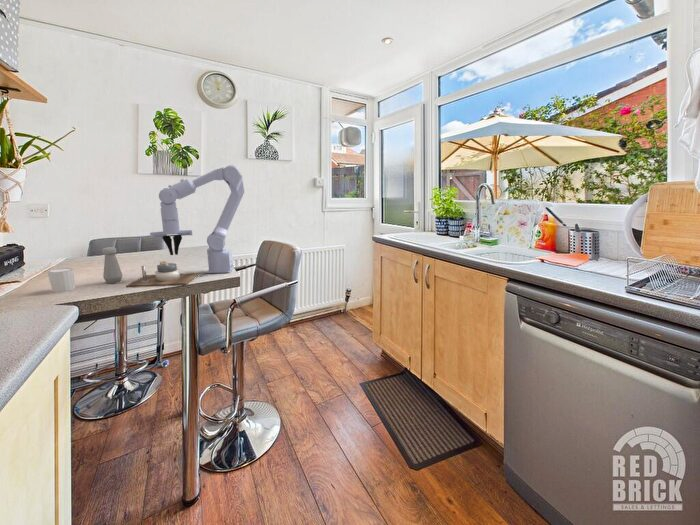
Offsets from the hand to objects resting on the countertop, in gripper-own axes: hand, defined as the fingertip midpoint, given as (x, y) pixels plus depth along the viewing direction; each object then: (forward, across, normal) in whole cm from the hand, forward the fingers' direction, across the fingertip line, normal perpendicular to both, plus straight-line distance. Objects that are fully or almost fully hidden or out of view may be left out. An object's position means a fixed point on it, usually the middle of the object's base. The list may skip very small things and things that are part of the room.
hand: (174, 254), depth 132 cm
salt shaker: (+9, +20, -2) cm, 22 cm away
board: (+8, +5, +6) cm, 12 cm away
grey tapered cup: (+9, +34, 0) cm, 36 cm away
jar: (+8, +4, +7) cm, 12 cm away
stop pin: (+8, +12, +7) cm, 16 cm away
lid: (+5, +4, +4) cm, 7 cm away
